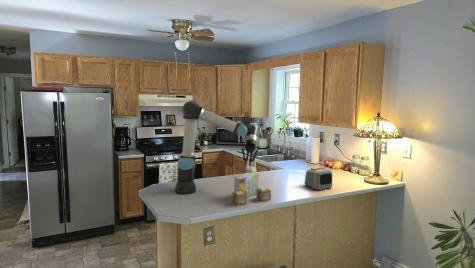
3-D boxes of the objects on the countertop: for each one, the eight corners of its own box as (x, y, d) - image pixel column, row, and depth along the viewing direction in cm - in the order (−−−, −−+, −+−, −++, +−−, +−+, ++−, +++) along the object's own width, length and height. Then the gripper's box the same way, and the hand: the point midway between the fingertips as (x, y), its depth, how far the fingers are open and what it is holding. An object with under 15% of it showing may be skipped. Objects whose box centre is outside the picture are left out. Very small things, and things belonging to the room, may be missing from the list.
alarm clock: (318, 191, 232) (319, 170, 230) (303, 185, 246) (304, 166, 244) (333, 188, 241) (334, 168, 239) (317, 183, 255) (319, 164, 253)
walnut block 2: (256, 198, 212) (256, 188, 211) (265, 197, 215) (265, 187, 214) (261, 201, 206) (262, 191, 205) (270, 200, 209) (271, 190, 208)
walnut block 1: (232, 202, 203) (232, 191, 202) (241, 201, 206) (242, 190, 205) (237, 206, 196) (237, 195, 195) (246, 204, 199) (247, 193, 198)
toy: (259, 178, 264) (260, 161, 262) (246, 181, 251) (247, 163, 250) (249, 175, 271) (250, 159, 269) (237, 179, 258) (237, 161, 256)
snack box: (252, 191, 226) (252, 171, 224) (258, 193, 222) (259, 173, 220) (233, 198, 209) (234, 177, 207) (239, 200, 206) (240, 178, 204)
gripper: (260, 145, 230) (256, 172, 216) (243, 144, 232) (238, 171, 218) (259, 139, 224) (256, 166, 210) (242, 138, 226) (237, 165, 212)
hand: (247, 169), depth 214 cm, fingers closed
